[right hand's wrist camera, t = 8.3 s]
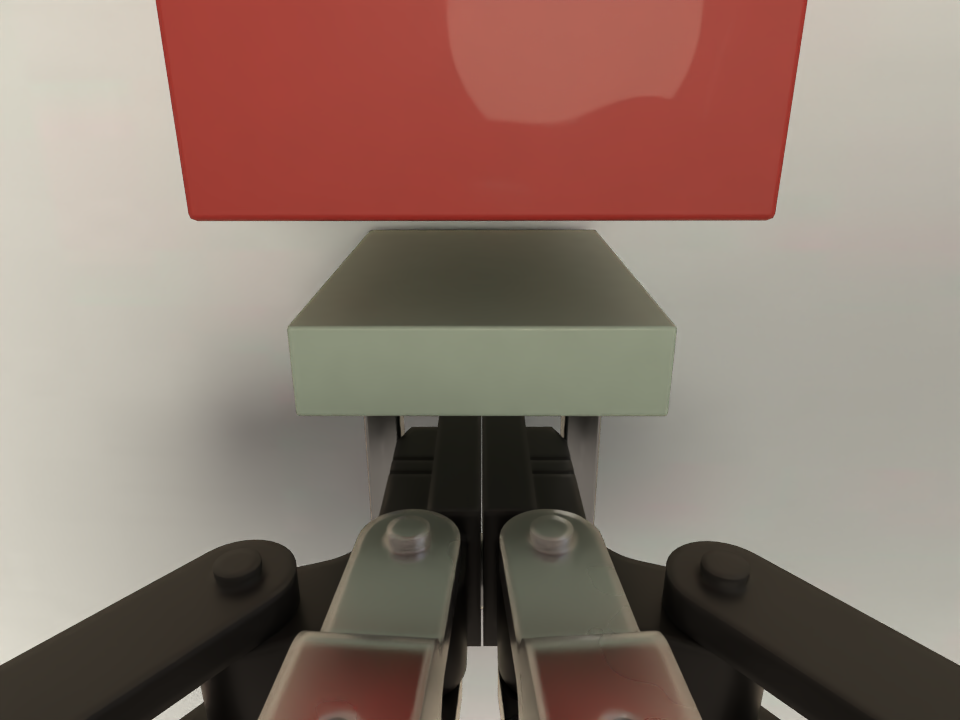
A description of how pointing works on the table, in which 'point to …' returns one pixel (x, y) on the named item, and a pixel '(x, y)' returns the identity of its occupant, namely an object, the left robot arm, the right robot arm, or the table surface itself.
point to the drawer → (482, 339)
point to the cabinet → (481, 108)
